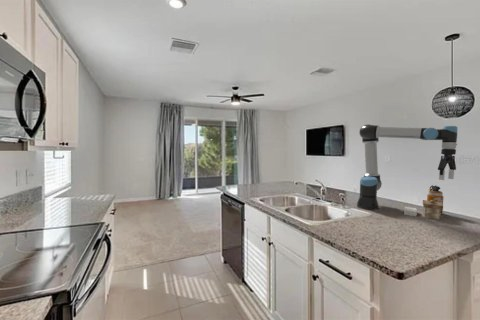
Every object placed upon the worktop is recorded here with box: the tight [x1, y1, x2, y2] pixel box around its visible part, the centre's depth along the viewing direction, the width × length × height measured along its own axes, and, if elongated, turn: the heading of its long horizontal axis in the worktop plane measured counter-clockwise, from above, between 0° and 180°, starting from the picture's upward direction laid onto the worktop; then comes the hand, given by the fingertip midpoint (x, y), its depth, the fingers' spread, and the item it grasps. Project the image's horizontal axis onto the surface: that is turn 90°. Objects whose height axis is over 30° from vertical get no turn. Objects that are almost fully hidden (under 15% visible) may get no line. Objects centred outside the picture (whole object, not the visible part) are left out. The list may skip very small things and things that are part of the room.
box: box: [423, 207, 442, 220], centre depth 162 cm, size 8×11×7 cm
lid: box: [422, 199, 444, 211], centre depth 162 cm, size 10×13×4 cm
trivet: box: [403, 206, 418, 217], centre depth 169 cm, size 7×13×3 cm, turn 145°
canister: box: [426, 184, 444, 215], centre depth 172 cm, size 9×11×20 cm
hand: (446, 179), depth 165 cm, fingers open, 13 cm apart
